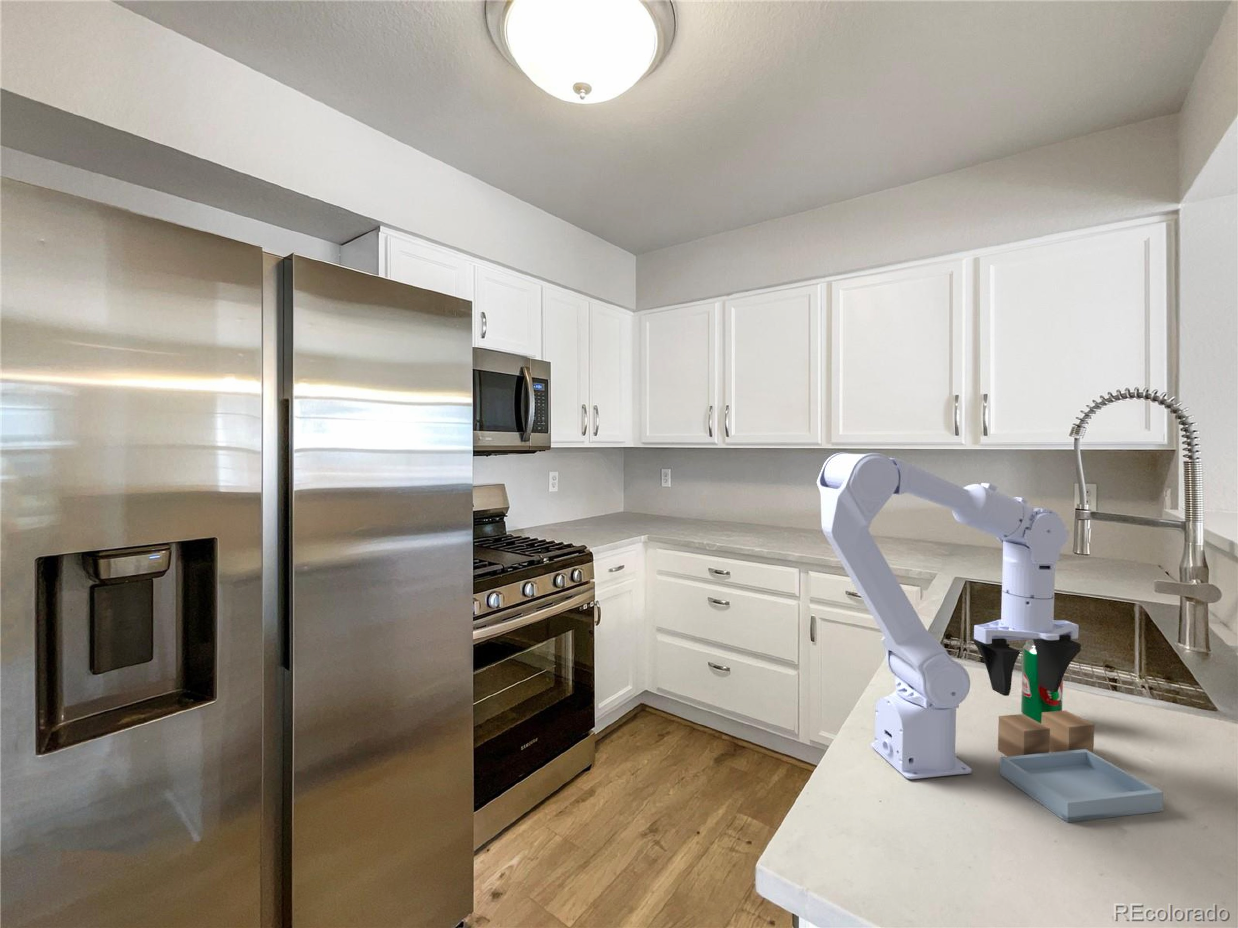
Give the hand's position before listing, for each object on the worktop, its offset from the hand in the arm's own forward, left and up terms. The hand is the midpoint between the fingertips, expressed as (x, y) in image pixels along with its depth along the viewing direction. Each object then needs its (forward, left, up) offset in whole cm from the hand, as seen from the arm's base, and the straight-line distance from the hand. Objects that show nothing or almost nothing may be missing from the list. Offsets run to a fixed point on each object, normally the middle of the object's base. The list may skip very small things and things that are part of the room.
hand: (1024, 690), depth 73 cm
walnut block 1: (0, 0, -9) cm, 9 cm away
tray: (0, -8, -9) cm, 12 cm away
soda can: (+12, +8, -10) cm, 18 cm away
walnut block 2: (+7, 0, -10) cm, 12 cm away
